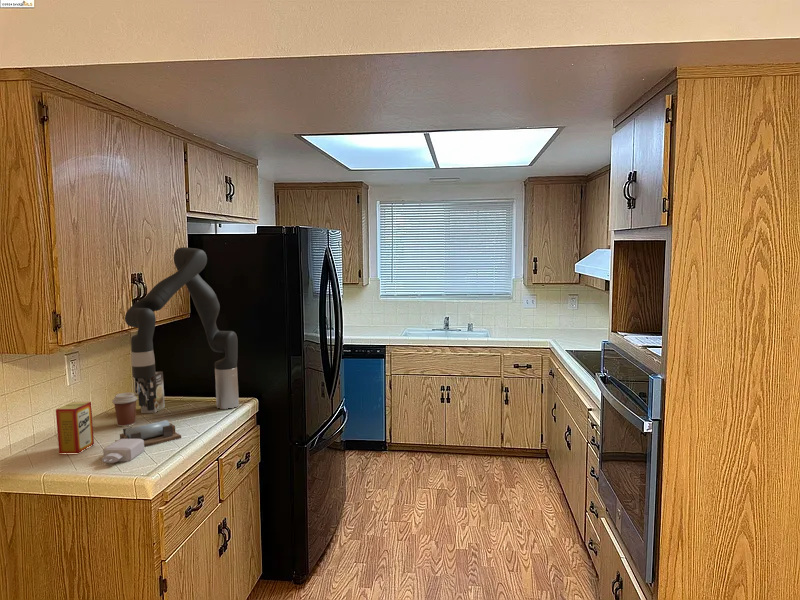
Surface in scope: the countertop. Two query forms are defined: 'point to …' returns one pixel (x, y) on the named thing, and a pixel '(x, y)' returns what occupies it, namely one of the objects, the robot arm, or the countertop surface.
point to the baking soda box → (74, 427)
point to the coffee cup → (125, 408)
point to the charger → (123, 450)
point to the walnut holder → (167, 436)
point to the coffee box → (159, 398)
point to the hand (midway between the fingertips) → (146, 407)
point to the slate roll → (148, 430)
